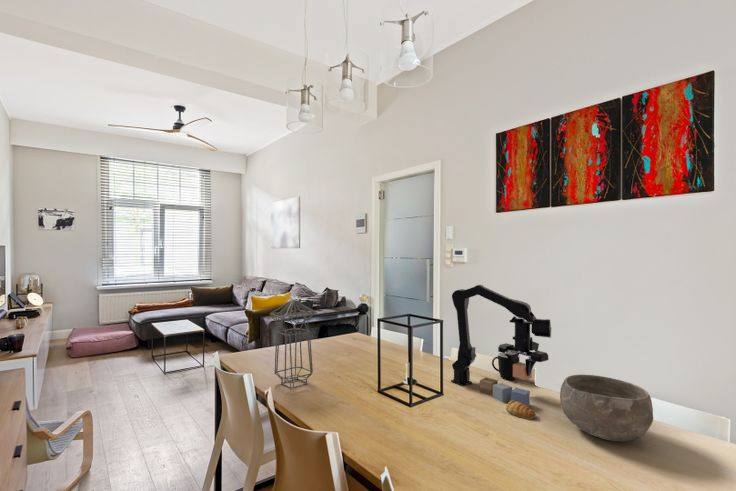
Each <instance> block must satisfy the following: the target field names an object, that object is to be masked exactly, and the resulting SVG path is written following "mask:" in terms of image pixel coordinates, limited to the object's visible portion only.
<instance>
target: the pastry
mask: <svg viewBox="0 0 736 491" xmlns="http://www.w3.org/2000/svg"><path fill="white" fill-rule="evenodd" d="M505 410H506V411H507V413H508V414H510V415H511V414H512V415H513V416H515V417H518V418H521V419H525V420H533V419H535V418H536V416H537V414H536V412H535V411H534V410H533V408H531V407H530V406H529V405H528V406H526V405H525V404H524V403H521V402H516V401H514V400H511V401H508V402H507V405H506V408H505Z"/></svg>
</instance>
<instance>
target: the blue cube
mask: <svg viewBox="0 0 736 491" xmlns="http://www.w3.org/2000/svg"><path fill="white" fill-rule="evenodd" d="M530 394H531V391H530V390H527V389H523V388H520V387H514V388H512V391H511V400H514V401H516V402H521V403H524V404H525V405H526V406H529V405H530V404H531V403H530V402H531V401H530V399H531V398H530V397H531V396H530Z"/></svg>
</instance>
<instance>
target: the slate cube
mask: <svg viewBox="0 0 736 491" xmlns="http://www.w3.org/2000/svg"><path fill="white" fill-rule="evenodd" d="M512 390H513V386H510V385H508V384H506V383H504V382H501V383H499V382H498V384H494V385H493V396H492V399H495V400H497V401H499V402H501V403H506V402H510V401H511V391H512Z"/></svg>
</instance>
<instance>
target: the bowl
mask: <svg viewBox="0 0 736 491" xmlns="http://www.w3.org/2000/svg"><path fill="white" fill-rule="evenodd" d="M559 399H560V406H561V410H562V412H563V414H564V415H565V416H566V418H567V419H568V420H569V421H570V422H571V423H572V424H573V425H574V426H576V427H578V429H580V430H582V431H584V432H585V433H587V434H589V435H592V436H594V437H596V438H600V439H603V440H607V441H612V442H631V441H633V440H636V439H640V440H641V439H643V438H644V437H645V434H646V433H647V431H648V430H649V429H650V428H651V426H652V424H653V421H654V408H653V402H652V397H651V395H650V393H649V392H648V391H647V390H646V389H644V388H642V387H640V386H638V385H636V384H634V383H631V382H628V381H625V380H620V379H617V378H613V377H607V376H603V375H602V376H601V375H593V374H573V375H569V376H567V377H566V378H565V379H564V380H563V382H562V384H561V387H560V392H559Z"/></svg>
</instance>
